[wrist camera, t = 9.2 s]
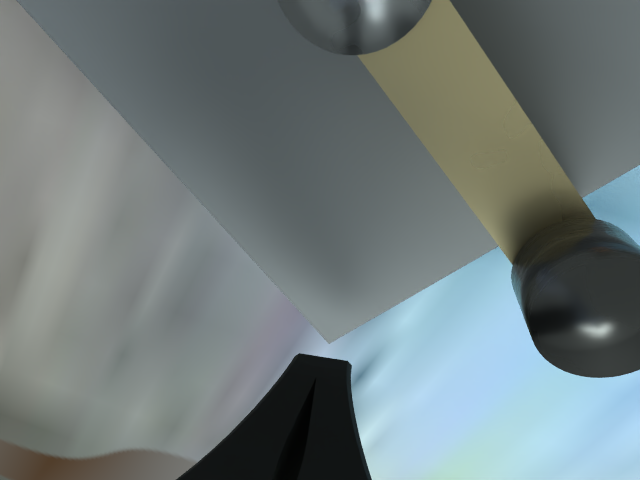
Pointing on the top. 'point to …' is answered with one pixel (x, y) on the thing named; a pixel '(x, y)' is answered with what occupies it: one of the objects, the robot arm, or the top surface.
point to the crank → (497, 174)
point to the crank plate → (345, 131)
